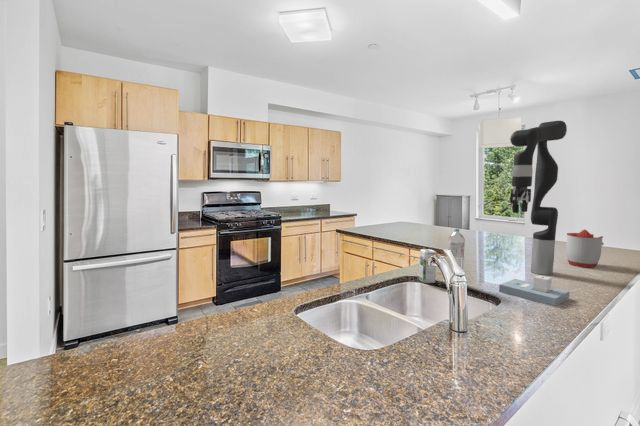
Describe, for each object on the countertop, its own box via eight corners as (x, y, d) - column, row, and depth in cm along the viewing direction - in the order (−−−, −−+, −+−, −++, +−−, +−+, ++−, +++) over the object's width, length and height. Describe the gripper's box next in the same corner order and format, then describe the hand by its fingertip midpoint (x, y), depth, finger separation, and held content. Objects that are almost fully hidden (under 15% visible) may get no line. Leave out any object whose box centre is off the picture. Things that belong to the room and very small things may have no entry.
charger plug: (537, 294, 134) (538, 274, 133) (550, 297, 130) (551, 277, 129) (532, 296, 131) (533, 276, 130) (545, 300, 127) (547, 279, 126)
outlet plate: (514, 285, 145) (515, 278, 145) (568, 298, 129) (569, 290, 128) (499, 291, 137) (499, 283, 136) (554, 306, 121) (555, 297, 120)
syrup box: (418, 279, 153) (419, 249, 152) (430, 279, 153) (431, 248, 152) (423, 283, 147) (424, 251, 146) (435, 283, 148) (437, 251, 146)
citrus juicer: (611, 269, 173) (615, 231, 171) (578, 269, 173) (581, 231, 171) (588, 262, 188) (591, 227, 186) (557, 261, 189) (560, 227, 187)
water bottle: (455, 287, 141) (458, 230, 139) (442, 283, 147) (445, 228, 145) (466, 285, 144) (469, 229, 142) (453, 281, 150) (455, 227, 148)
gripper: (520, 176, 152) (518, 210, 153) (505, 175, 144) (503, 212, 145) (538, 175, 146) (536, 212, 147) (524, 175, 138) (521, 213, 139)
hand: (519, 212), depth 146 cm, fingers open, 8 cm apart
